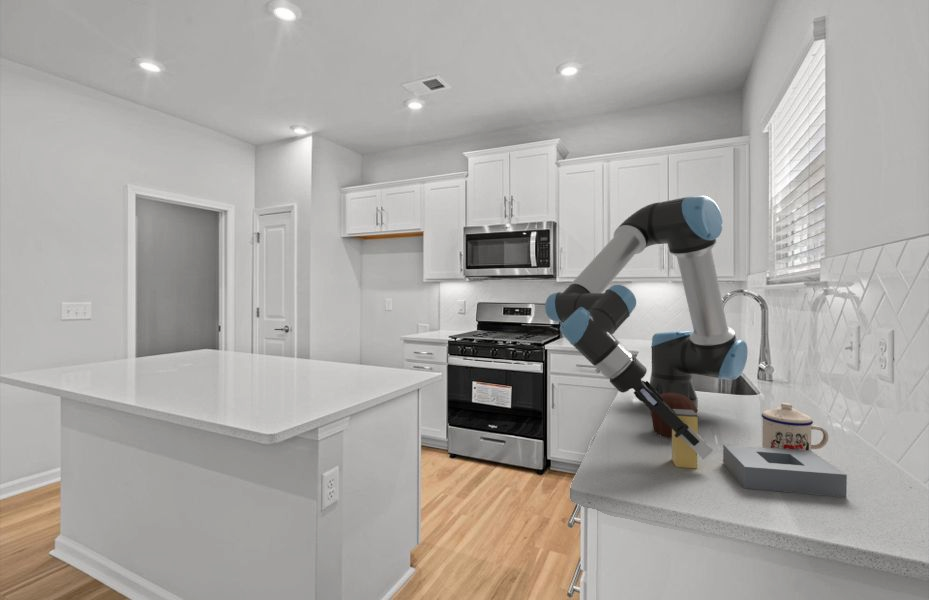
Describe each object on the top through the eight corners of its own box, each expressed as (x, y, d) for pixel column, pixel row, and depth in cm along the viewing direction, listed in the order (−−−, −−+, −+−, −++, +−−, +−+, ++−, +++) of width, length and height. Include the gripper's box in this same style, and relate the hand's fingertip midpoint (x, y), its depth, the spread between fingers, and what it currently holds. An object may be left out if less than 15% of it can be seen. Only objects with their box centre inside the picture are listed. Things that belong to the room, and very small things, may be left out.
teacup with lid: (767, 461, 95) (768, 407, 95) (756, 447, 104) (756, 397, 103) (836, 469, 91) (837, 412, 91) (819, 453, 99) (820, 401, 99)
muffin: (670, 442, 107) (670, 401, 107) (638, 429, 117) (638, 391, 117) (708, 437, 111) (708, 397, 110) (674, 424, 121) (674, 387, 121)
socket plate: (723, 463, 94) (723, 444, 94) (810, 470, 90) (811, 450, 90) (744, 488, 82) (745, 466, 82) (846, 497, 79) (846, 474, 79)
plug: (671, 459, 96) (672, 408, 96) (692, 461, 95) (692, 409, 95) (676, 466, 92) (676, 413, 92) (697, 468, 92) (697, 415, 91)
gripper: (605, 372, 105) (680, 447, 102) (611, 388, 89) (701, 478, 85) (628, 350, 104) (706, 426, 101) (640, 362, 87) (733, 453, 84)
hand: (704, 450), depth 93 cm, fingers closed on plug, 4 cm apart
